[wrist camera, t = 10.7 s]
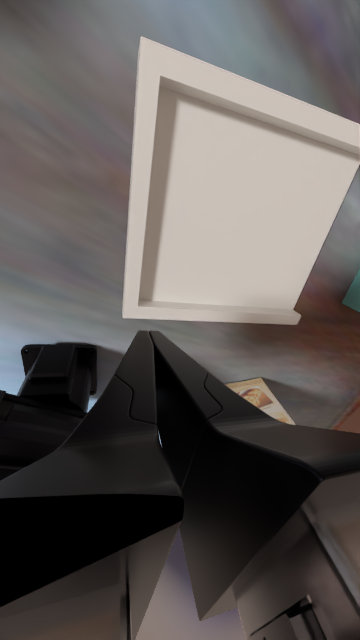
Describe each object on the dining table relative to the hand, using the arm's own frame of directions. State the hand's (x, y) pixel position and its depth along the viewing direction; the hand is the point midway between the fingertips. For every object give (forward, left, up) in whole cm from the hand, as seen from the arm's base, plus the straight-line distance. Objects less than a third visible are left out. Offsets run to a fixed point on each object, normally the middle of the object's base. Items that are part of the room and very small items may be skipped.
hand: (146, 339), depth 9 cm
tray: (+4, -9, -12) cm, 16 cm away
